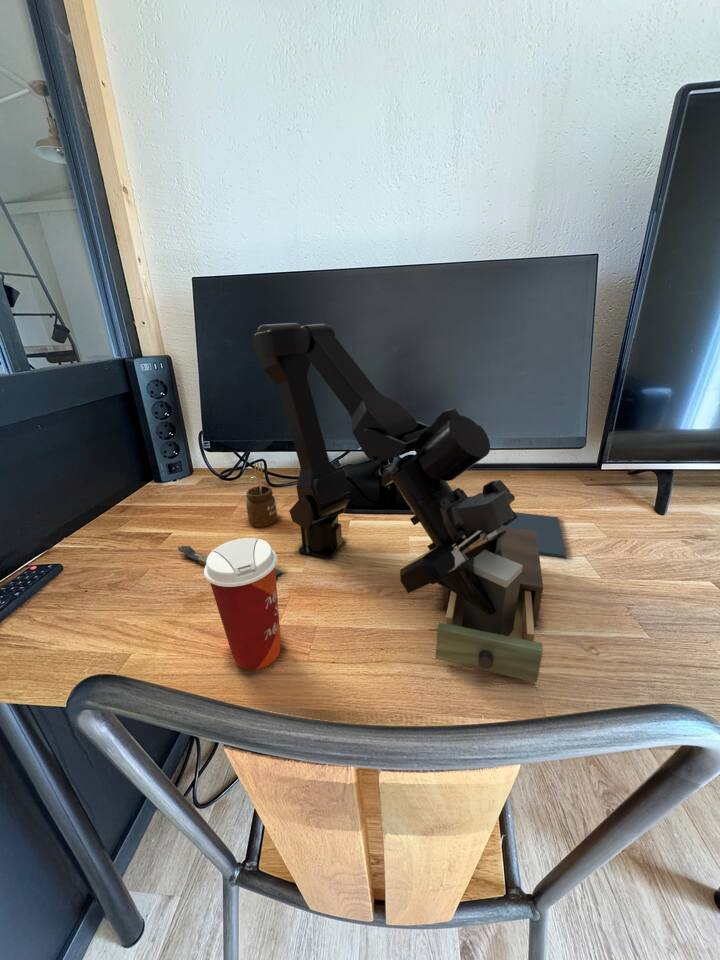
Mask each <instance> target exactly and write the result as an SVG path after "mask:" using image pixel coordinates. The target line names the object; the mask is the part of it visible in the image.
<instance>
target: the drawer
mask: <svg viewBox="0 0 720 960" xmlns="http://www.w3.org/2000/svg"><path fill="white" fill-rule="evenodd" d="M464 600H465V599H464V598H462V597H461V596H459V595H457V594H456V593H454V592H452V591H451V594H450V599H449V604H448V609H446V610H447V611H446V614H445V622H441V621H440V622H439V621H438V623H437V627H436V641H435V642H436V644H435V660H438V661H442V662H446V663H451V664H455V665H459V666H462V667H463V666H464V667H467V668H472V669H476V670H480V671H485V672H490V673H493V674H498V675H502V676H507V677H510V678H514V679H515V678H516V679H519V680H524V681H527V682H531V683H537V682H538V680H539V679H538V678H539V674H540V669H541V663H542V660H543V659H542V658H543V655H544V654H543V653H544V648H543V647H544V646H543V643H542V642H537V641H534V639H535V626H534V623H533V610H532V597H531V590H528V589H522V588H519V594H518V601H517V607H516V614H515V621H514V627H513V631H512V632H511V633H510V635H509V636H504V635H499V634H494V633H489V632H484V631H479V630H474V629H469V628H465V627H462V623H463V612H464Z"/></svg>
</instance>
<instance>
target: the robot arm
mask: <svg viewBox="0 0 720 960" xmlns="http://www.w3.org/2000/svg"><path fill="white" fill-rule="evenodd" d="M256 331H257V332H256V333H255V334H254V336H253V341H252V343H253V348H254V351H255V353H256V355H257V357H258V360H259V363H260V365H261V367H262V370H263V371H264V373H266V374H267V375H268V377H270V378H271V380H272V381H274V382H275V383H276V385H277V387H278V391H279V395H280V399H281V402H282V406H283V409H284V414H285V417H286V421H287V424H288V428H289V430H290V431H289V432H290V434H291V438H292V441H293V445H294V449H295V453H296V456H297V460H298V464H299V468H300V471H299V475H298V479H297V483H296V493H297V498H298V500H297V501H296V502H295V504H293V505H292V507H291V508H290V509H289V515H290V518H291V521H292V523H294V524H296V525H298V526H300V537H301V546H300V547H299V548H298V550H297V551H298V554H303V555H309V556H316V557H322V558H326V559H331V558H332V557H333V556H334V555H335V553H336V551H337V550H339V549H340V547H341V545H342V544H343V541H344V537H343V535H342V534H343V533H342V524H341V523H339V515H342V514H345V512H346V508H347V505H348V502H350V492H351V488H350V487H349V485H348V481H347V475H346V472H345V470H344V469H337V468H336V466H335V465H334V464H332V462H331V461H330V459H329V454H328V451H327V448H326V447H327V446H326V444H325V440H324V436H323V432H322V428H321V425H320V420H319V417H318V412H317V409H316V406H315V402H314V398H313V393H312V389H311V386H310V382H309V378H308V375H309V371H310V367H311V364H312V366H313V367H314V368H315V370H316V371H317V372H318V374H319V375H320V376H321V378H322V379H323V380H324V382H325V383H326V384H327V386H328V388H330V390H331V391H332V392H333V393H334V395H335V397H336V398H337V399H338V401H339V402H340V403H341V404H342V406H343V407H344V409H345V410H346V411H347V413H348V415H349V416H350V419H351V432H352V434H353V436H354V438H355V439H356V441H357V443H358V445H359V447H360V449H361V450H362V452H363V453H364V455H365V456H366V457H367V458H368V460H370V461H372V462H379V463H382V462H386V461H388V460H391V459H394V458H398V457H401V456H402V457H401V458H400V459H399V460H397V462H391V463H388V464H386V465H384V466H383V467H382V469H383V474H382V477H381V482H380V484H381V486H382V487H386V486H388V485H391V484H392V483H394V485H395V486H396V488H397V490H398V491H399V492H400V494H401V495H402V498H403V499H404V500H405V502H406V504H407V505H408V506H409V508H410V509H411V511H412V513H413V514H414V515H413V516H412V517H411V518H409V520H410V522H411V523H412V525H413V526H416V525H417V524H420V525H421V526H422V528H423V529H424V531H425V532H426V535H428V537H429V540H431V543H430V544H428V545H427V549H429V550H428V551H427V552H425V553H423V554H422V555H421V554H420V555H419V556H417V557H416V558H415V559H413V560H412V561H410V562H409V563H408V564H406V565H404V566H403V567H402V568H399V581H400V583H401V585H402V587H403V588H404V590H405V591H406V593H407V594H411V593H412V592H415V591H417V590H419V589H422V588H424V587H426V586H428V585H435V584H438V585H439V586H442V588H443V587H445V588H447V589H449V590H450V591H452V592H454V593H456V594H457V595H459V596H461V597H462V598H464V599H465V600H467V601H468V602H470V603H471V604H473V605H474V606H476V607H477V608H479V609H480V610H482V611H483V612H485V613H486V614H488V615H492V614H494V613H495V612H496V610H495V608H494V606H493V604H492V602H491V600H490V598H489V597H488V595H487V593H486V592H485V590H484V588H483V587H482V585H481V583H480V582H479V580H478V578H477V577H476V575H475V573H474V558H475V557H476V556H477V555H478V554H480V553H481V552H482V551H483V550H487V551H489V552H491V553H494V554H496V555H499V556H501V557H503V556H502V551H501V547H502V543H503V539H504V536H505V535H506V530H505V531H503V532H501V533H499V534H498V533H497V532H496V530H497V529H499V528H501V527H502V526H503V525H504V526H506V525H508V524H509V523H511V522H512V521H513V520H515V519H516V518H517V516H516V514H515V513H514V512H515V511H514V509H513V508H512V507H511V504H512V502H514V501H515V499H516V496H515V495H514V494H513V493H512V492H511V490H510V488H508V487H507V485H506V484H505V483H504V482H503V481H502V479H497V480H491V481H489V482H487V483H486V484H484V485H483V487H482V492H479V493H477V494H475V495H471V496H468V495H467V493H466V492H465V491H464V490H463V489H461V488H460V487H457V488H456V489H453V488H452V487H451V486H450V485H449V483H448V482H450V481H453V480H455V479H457V478H458V477H459V476H461V475H462V474H463V473H465V472H467V470H469V469H470V468H472V467H473V466H474V465H476V464H477V463H479V462H480V461H481V460H483V459H484V458H485V457H488V455H489V454H490V451H491V443H490V438H489V436H488V434H487V433H486V431H485V429H484V428H483V427H482V425H480V424H479V425H478V424H477V423H476V422H475V421H474V420H472V419H471V418H470V417H467V416H465V415H460V413H459V412H458V410H457V409H456V408H455V407H452V408H449V409H445V410H443V411H441V413H440V414H439V415H438V416H437V417H436V418H435V421H434V422H433V423H432V424H431V425H429V424H428V423H427V424H426V423H423V422H421V421H418V420H416V418H415V417H414V416H413V415H412V414H411V413H410V412H409V411H408V410H407V409H405V407H404V406H402V405H401V404H400V403H399V402H397V400H394V399H392V398H390V397H388V396H386V395H384V394H382V393H381V392H380V391H379V390H378V389H377V388H376V387H375V386H374V385H373V383H372V382H371V380H370V379H369V378H368V377H367V375H366V374H365V372H363V371H362V369H361V368H360V367H359V366H358V364H357V363H356V362H355V360H354V358H352V356H351V355H350V354H349V352H348V351H347V350H346V349H345V348H344V346H343V345H342V344H341V343H340V341H339V340H338V339H337V337H336V333H335V331H334V329H333V327H331V326H330V325H328V324H326V323H315V324H303V325H301V324H300V323H297V322H287V323H285V322H284V323H272V324H262V325H260V326H259V327H258V329H257V330H256ZM413 451H414V452H415V454H414V453H413V454H408V453H411V452H413ZM403 455H404V456H403ZM464 535H465V537H462V536H464ZM453 544H454V545H453ZM452 545H453V546H452ZM468 547H469V548H470V550H468V551H467V552H466V553H465V555H466V556H467V557H468V558H469V559H467V560H465V558H464V557H463V555H462V554H461V552H462V551H464V550H465V549H466V548H468Z"/></svg>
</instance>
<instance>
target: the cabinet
mask: <svg viewBox="0 0 720 960" xmlns="http://www.w3.org/2000/svg"><path fill="white" fill-rule="evenodd" d="M505 530H506V535H505V536H504V539H503V543H502V547H501V551H502V556H503V557H504V558H506V559H509V560H511V561H513V562H516V563H518V564H521V565H523V567H522V574H521V581H520V588H522V589H528V590H531V597H532V610H533V623H534V627H537V623H538V619H539V614H540V613H539V612H540V608H541V602H542V597H543V590H544V583H543V582H544V581H543V576H542V575H543V574H542V567H541V559H540V554H539V549H538V541H537V533H536V531H531V530H523V529H515V528H507V527H501V528H499V529H497V530H496V532H497V533H498V534H499V533H501V532H503V531H505ZM462 537H465V535H464V536H462ZM453 545H454V544H453ZM453 545H452V546H453ZM468 550H470V548H469V547H468V548H466V549H465V550H464V551H462V552H461V554H462V555H463V557H464V558H465V560H467V559H469V558H468V557H467V556H466V555H465V553H466V552H467V551H468ZM442 588H443V590H442V605H441V608H442V610H443V609H444V610H447V609H448V604H449V599H450V594H451V591H450V590H449V589H447V588H445V587H443V586H442Z"/></svg>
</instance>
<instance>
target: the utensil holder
mask: <svg viewBox="0 0 720 960" xmlns="http://www.w3.org/2000/svg"><path fill="white" fill-rule="evenodd" d="M253 466H254V475H253V476H251V477H250V478H249V479H248V481H250V483H249V484H248V485H249V489H248V490H247V491H246V494H245V496H246V499H247V500H246V503H245V504H246V505H245V506H246V513H247V518H248V522H249V524H250V525H251V526H253V527H256V528H264V527H268V526H271V525H273V524H274V523H276V522H277V519H278V511H277V510H278V509H277V503H276V499H275V497H274V496H273V490H272V487H270V486H268V485H262V483H261V482H262V481H261V479H262V478H263V477H264V472H263V463H262V461H260V462H254V463H253ZM253 478H254V480H258V482H255V484H256V486H255V485H254V484H252V486H251V483H252V479H253ZM257 484H258V485H257Z"/></svg>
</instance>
